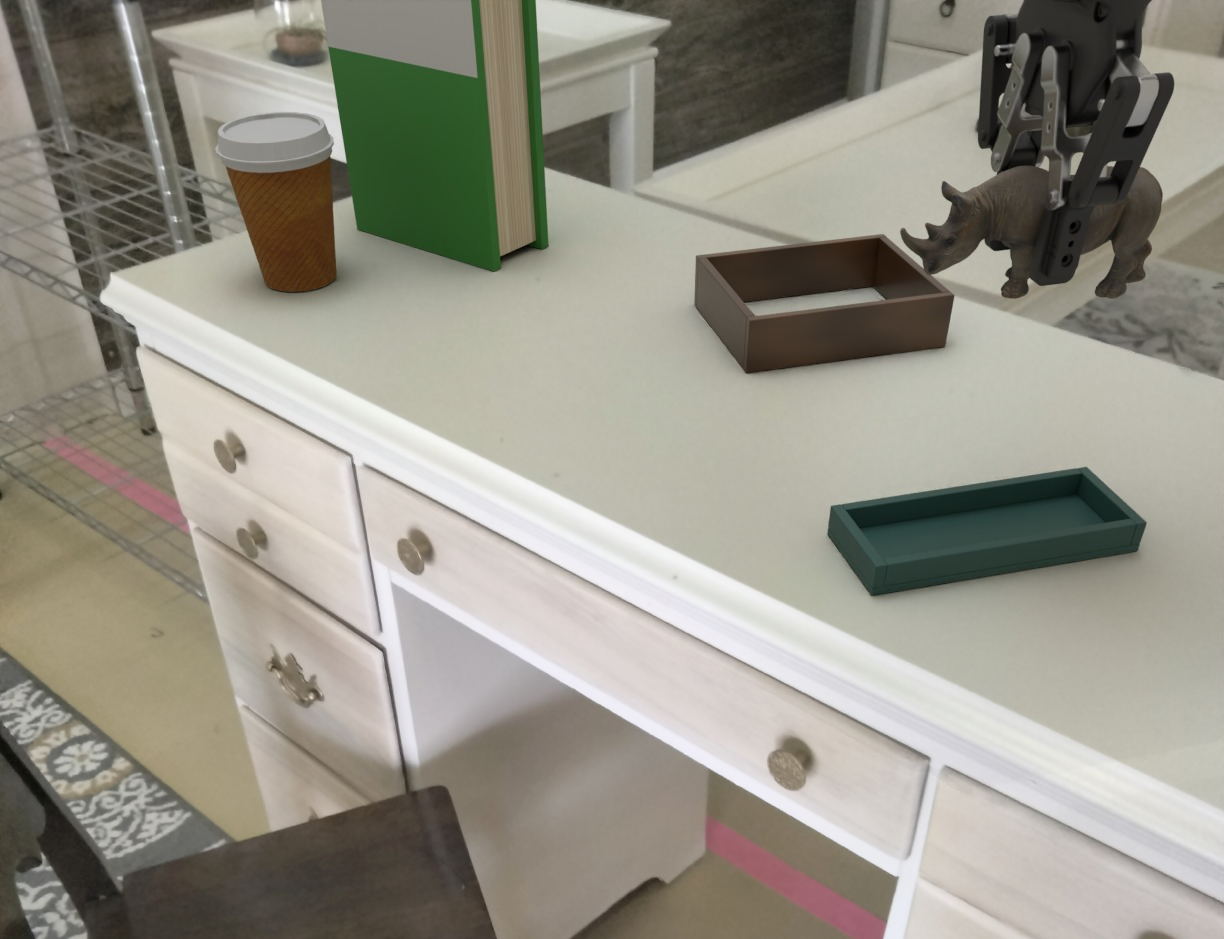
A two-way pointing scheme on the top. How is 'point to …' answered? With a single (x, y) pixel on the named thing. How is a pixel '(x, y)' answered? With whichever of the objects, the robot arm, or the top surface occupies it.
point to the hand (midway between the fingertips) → (1026, 262)
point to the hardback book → (442, 122)
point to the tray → (983, 529)
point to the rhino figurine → (1015, 217)
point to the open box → (821, 333)
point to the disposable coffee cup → (284, 195)
